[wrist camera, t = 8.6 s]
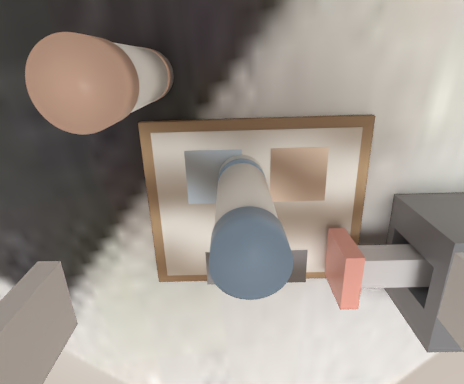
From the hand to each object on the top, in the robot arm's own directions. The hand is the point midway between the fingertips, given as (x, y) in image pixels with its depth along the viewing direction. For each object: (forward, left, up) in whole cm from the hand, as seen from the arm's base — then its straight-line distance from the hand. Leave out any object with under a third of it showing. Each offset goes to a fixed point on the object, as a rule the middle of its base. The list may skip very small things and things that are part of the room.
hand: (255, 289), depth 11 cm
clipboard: (+3, +1, -14) cm, 14 cm away
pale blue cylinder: (0, 0, -13) cm, 13 cm away
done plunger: (+6, +10, -12) cm, 17 cm away
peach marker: (-7, -6, -14) cm, 16 cm away
